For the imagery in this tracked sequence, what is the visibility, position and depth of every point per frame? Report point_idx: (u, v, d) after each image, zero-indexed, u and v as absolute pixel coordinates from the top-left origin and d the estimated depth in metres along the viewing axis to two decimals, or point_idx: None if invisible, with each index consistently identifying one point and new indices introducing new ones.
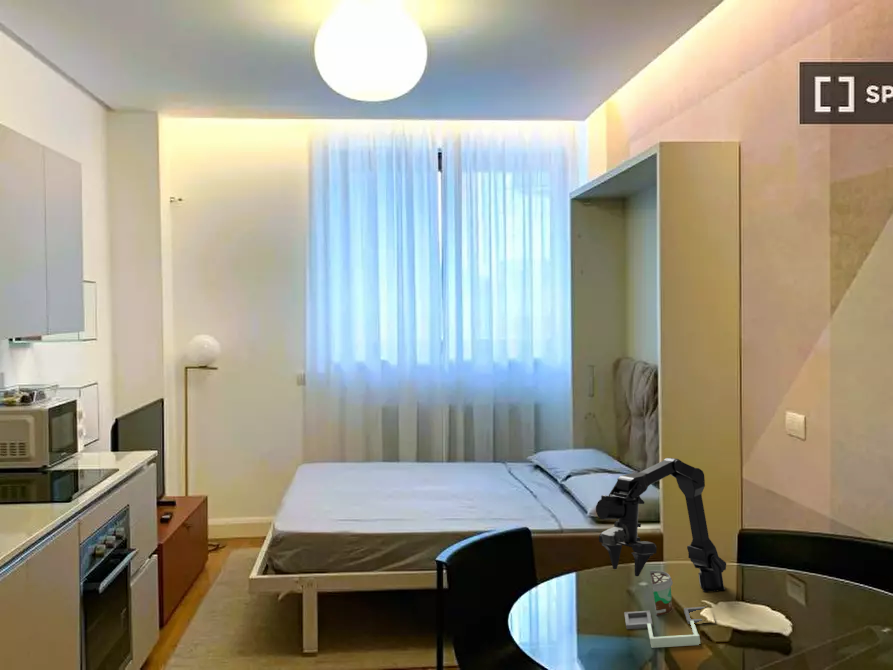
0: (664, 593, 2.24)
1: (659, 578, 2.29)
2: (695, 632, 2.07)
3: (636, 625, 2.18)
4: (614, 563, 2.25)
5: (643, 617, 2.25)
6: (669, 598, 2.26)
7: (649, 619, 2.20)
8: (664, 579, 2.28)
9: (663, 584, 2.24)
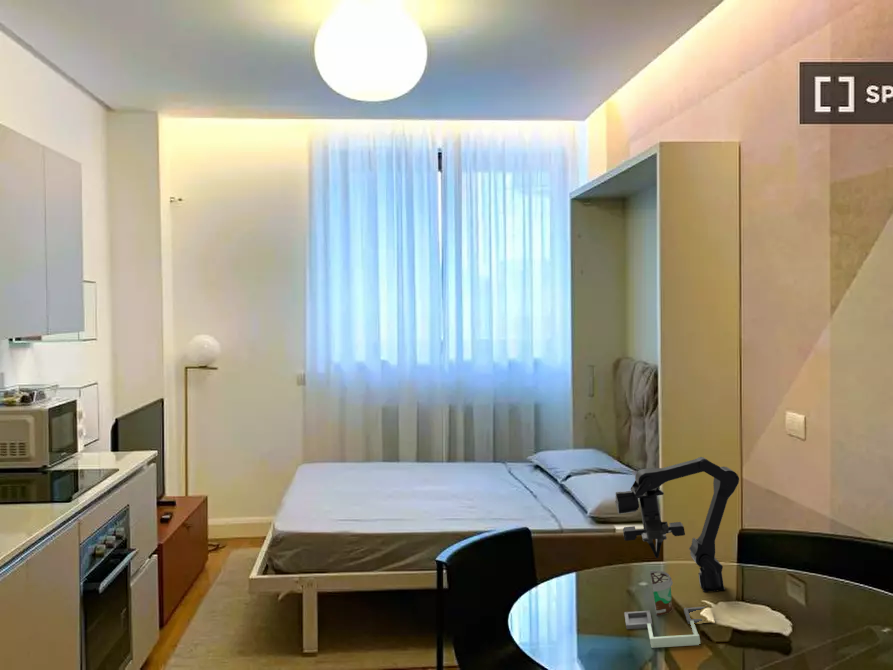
0: (664, 593, 2.24)
1: (659, 578, 2.29)
2: (695, 632, 2.07)
3: (636, 625, 2.18)
4: (656, 552, 2.39)
5: (643, 617, 2.25)
6: (669, 598, 2.26)
7: (649, 619, 2.20)
8: (664, 579, 2.28)
9: (663, 584, 2.24)
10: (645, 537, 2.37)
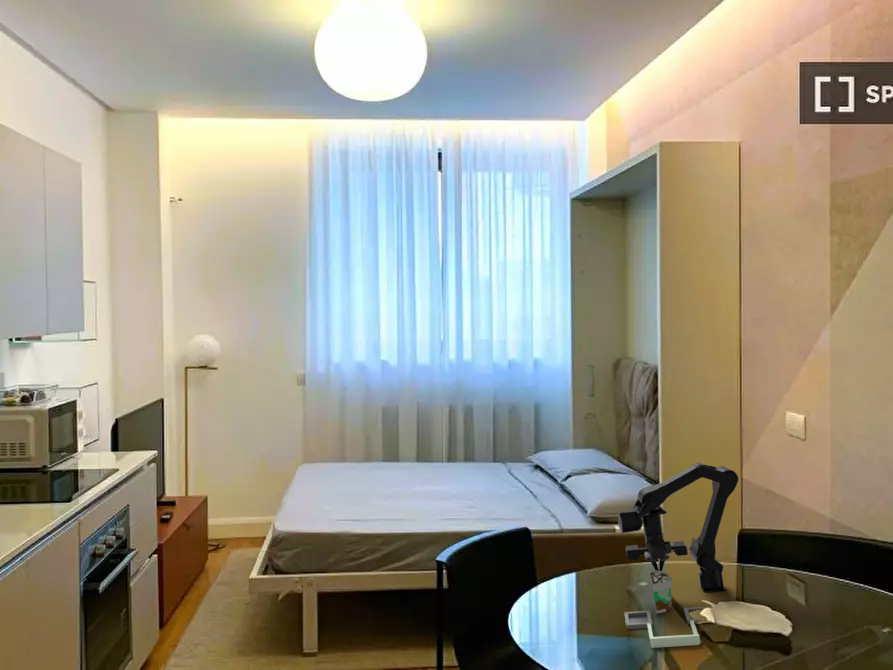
0: (664, 593, 2.24)
1: (659, 578, 2.29)
2: (695, 632, 2.07)
3: (636, 625, 2.18)
4: None
5: (643, 617, 2.25)
6: (669, 598, 2.26)
7: (649, 619, 2.20)
8: (664, 579, 2.28)
9: (663, 584, 2.24)
10: (648, 556, 2.37)
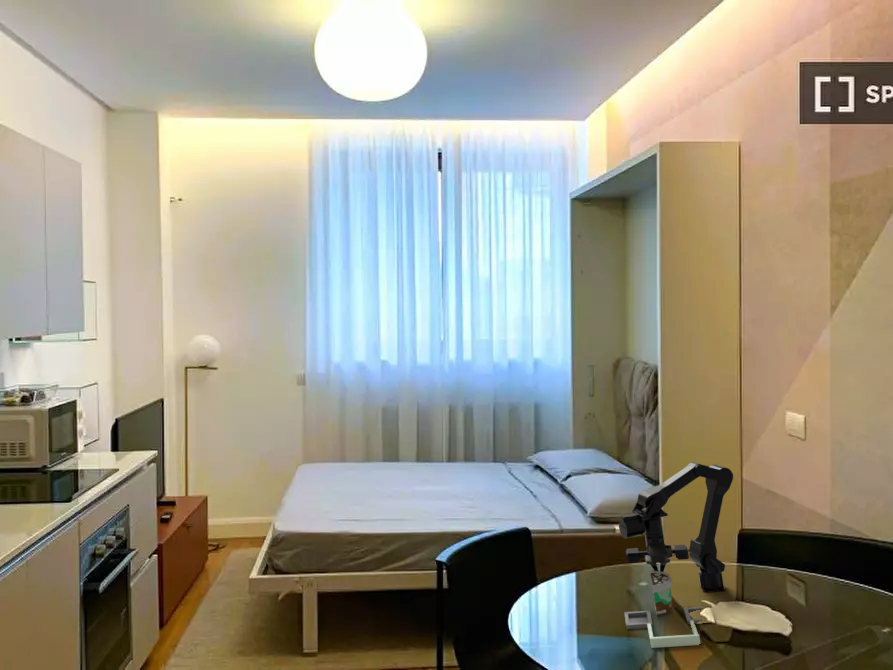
0: (664, 594, 2.24)
1: (659, 579, 2.28)
2: (695, 632, 2.07)
3: (636, 625, 2.18)
4: None
5: (643, 617, 2.25)
6: (669, 599, 2.25)
7: (649, 619, 2.20)
8: (664, 580, 2.27)
9: (663, 585, 2.23)
10: (648, 560, 2.33)
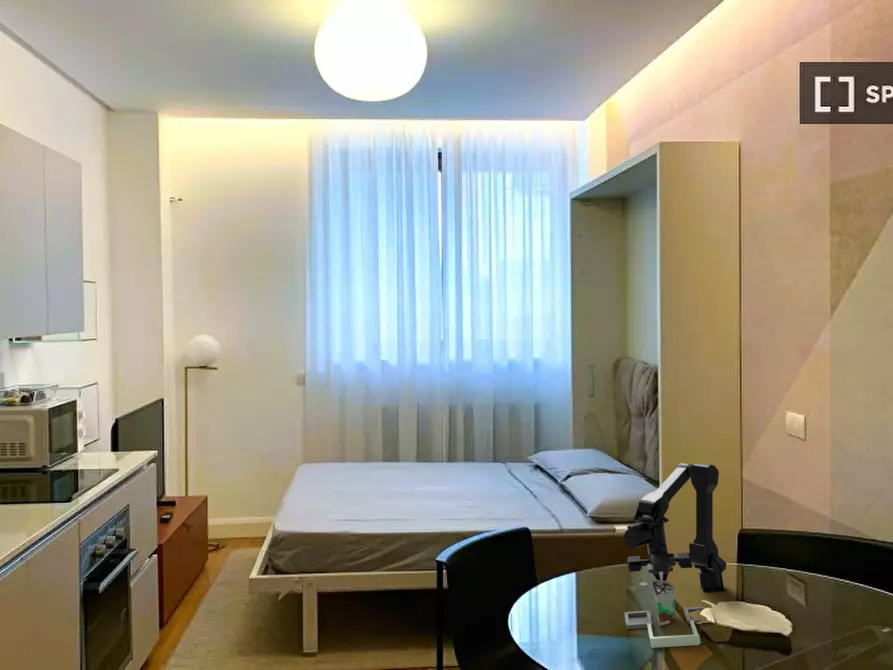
0: (668, 604, 2.16)
1: (662, 588, 2.21)
2: (695, 632, 2.07)
3: (636, 625, 2.18)
4: None
5: (643, 617, 2.25)
6: (673, 609, 2.18)
7: (649, 619, 2.20)
8: (667, 589, 2.20)
9: (667, 595, 2.16)
10: (650, 568, 2.26)
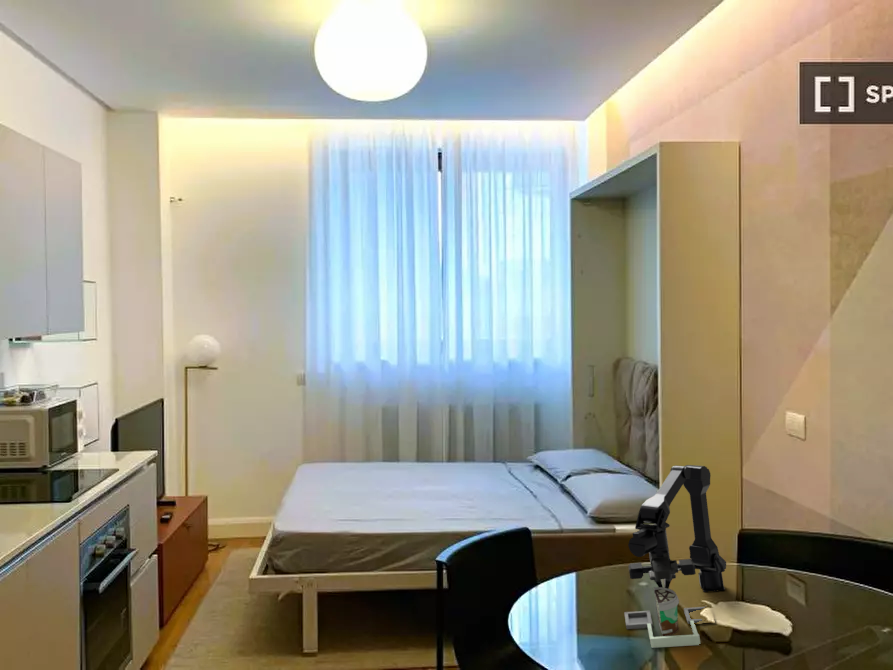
0: (671, 612, 2.11)
1: (664, 596, 2.15)
2: (695, 632, 2.07)
3: (636, 625, 2.18)
4: None
5: (643, 617, 2.25)
6: (676, 617, 2.12)
7: (649, 619, 2.20)
8: (670, 597, 2.14)
9: (670, 603, 2.10)
10: (652, 575, 2.20)
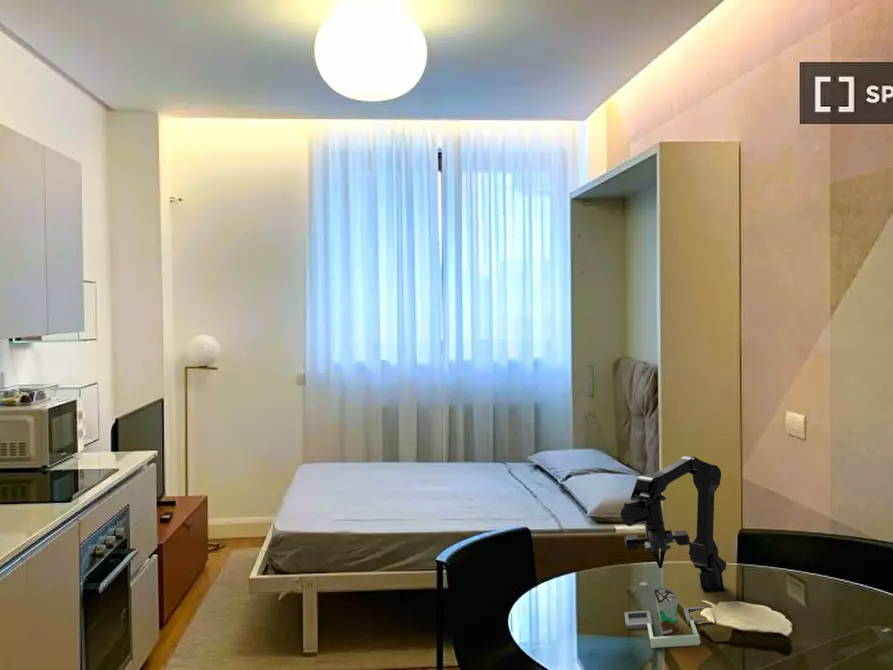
0: (671, 612, 2.11)
1: (664, 596, 2.16)
2: (695, 632, 2.07)
3: (636, 625, 2.18)
4: None
5: (643, 617, 2.25)
6: (675, 617, 2.12)
7: (649, 619, 2.20)
8: (670, 597, 2.14)
9: (670, 603, 2.10)
10: (648, 546, 2.26)
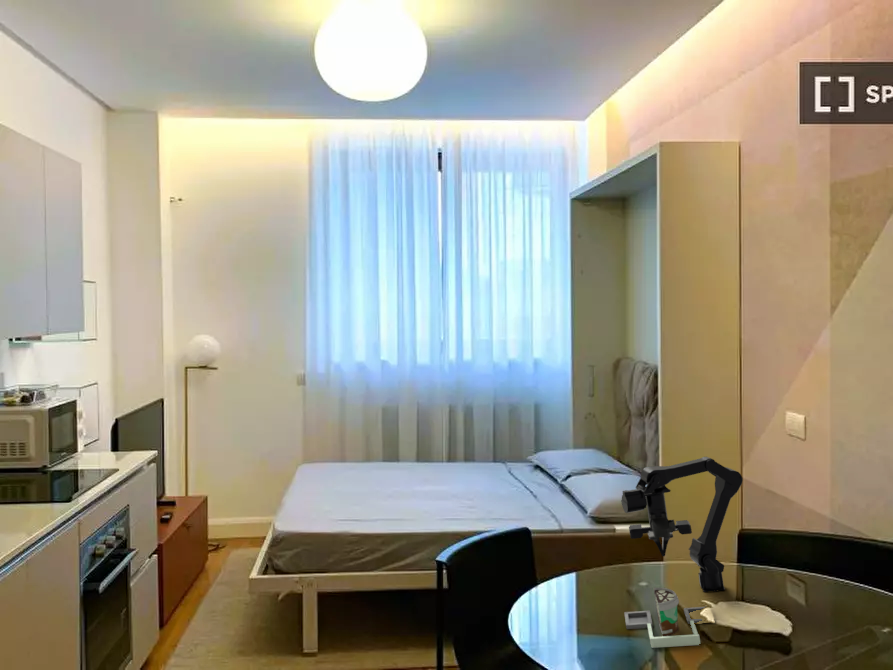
0: (671, 612, 2.11)
1: (664, 596, 2.16)
2: (695, 632, 2.07)
3: (636, 625, 2.18)
4: None
5: (643, 617, 2.25)
6: (675, 617, 2.12)
7: (649, 619, 2.20)
8: (670, 597, 2.14)
9: (670, 603, 2.10)
10: (651, 535, 2.35)
